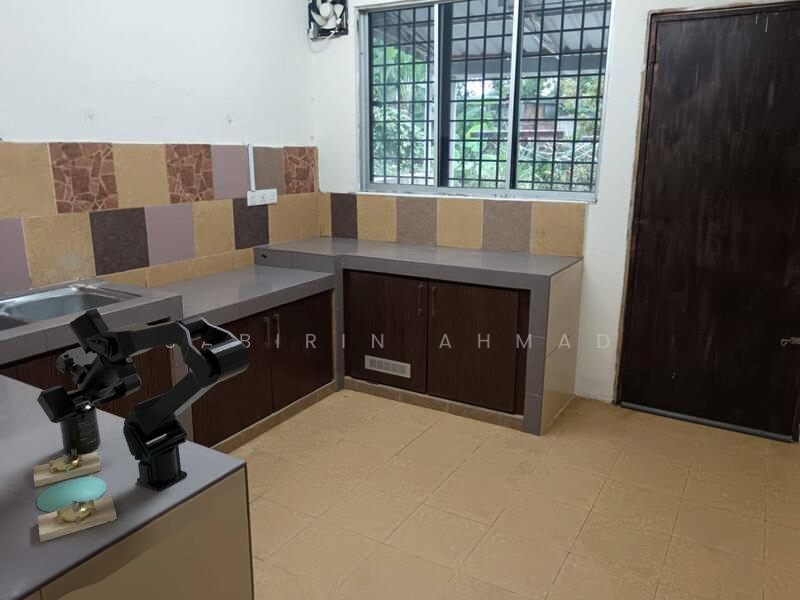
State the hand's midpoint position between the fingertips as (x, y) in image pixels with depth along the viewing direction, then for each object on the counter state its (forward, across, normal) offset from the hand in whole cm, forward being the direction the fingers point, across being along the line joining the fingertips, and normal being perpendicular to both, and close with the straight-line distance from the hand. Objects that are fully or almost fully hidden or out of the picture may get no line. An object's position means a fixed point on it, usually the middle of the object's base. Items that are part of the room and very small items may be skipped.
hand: (77, 412), depth 124 cm
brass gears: (-6, +12, +15) cm, 20 cm away
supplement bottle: (+6, 0, +6) cm, 8 cm away
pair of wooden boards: (-5, +12, +16) cm, 20 cm away
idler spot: (-5, +12, +16) cm, 20 cm away
